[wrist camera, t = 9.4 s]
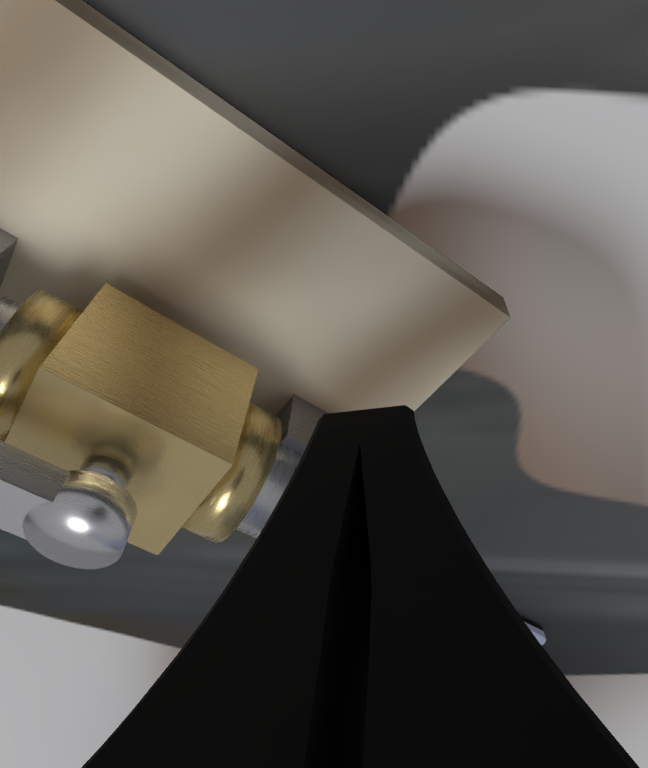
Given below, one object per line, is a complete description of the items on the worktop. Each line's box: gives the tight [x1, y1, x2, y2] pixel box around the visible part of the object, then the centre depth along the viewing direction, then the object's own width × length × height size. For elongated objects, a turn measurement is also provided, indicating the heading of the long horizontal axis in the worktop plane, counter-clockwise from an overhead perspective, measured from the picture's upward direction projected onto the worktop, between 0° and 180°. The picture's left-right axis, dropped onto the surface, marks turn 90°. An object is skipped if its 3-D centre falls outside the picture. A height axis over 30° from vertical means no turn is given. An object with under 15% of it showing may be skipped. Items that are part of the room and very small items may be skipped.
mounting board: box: [0, 0, 510, 538], centre depth 18 cm, size 16×13×1 cm
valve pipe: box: [0, 228, 329, 555], centre depth 16 cm, size 15×4×5 cm, turn 56°
